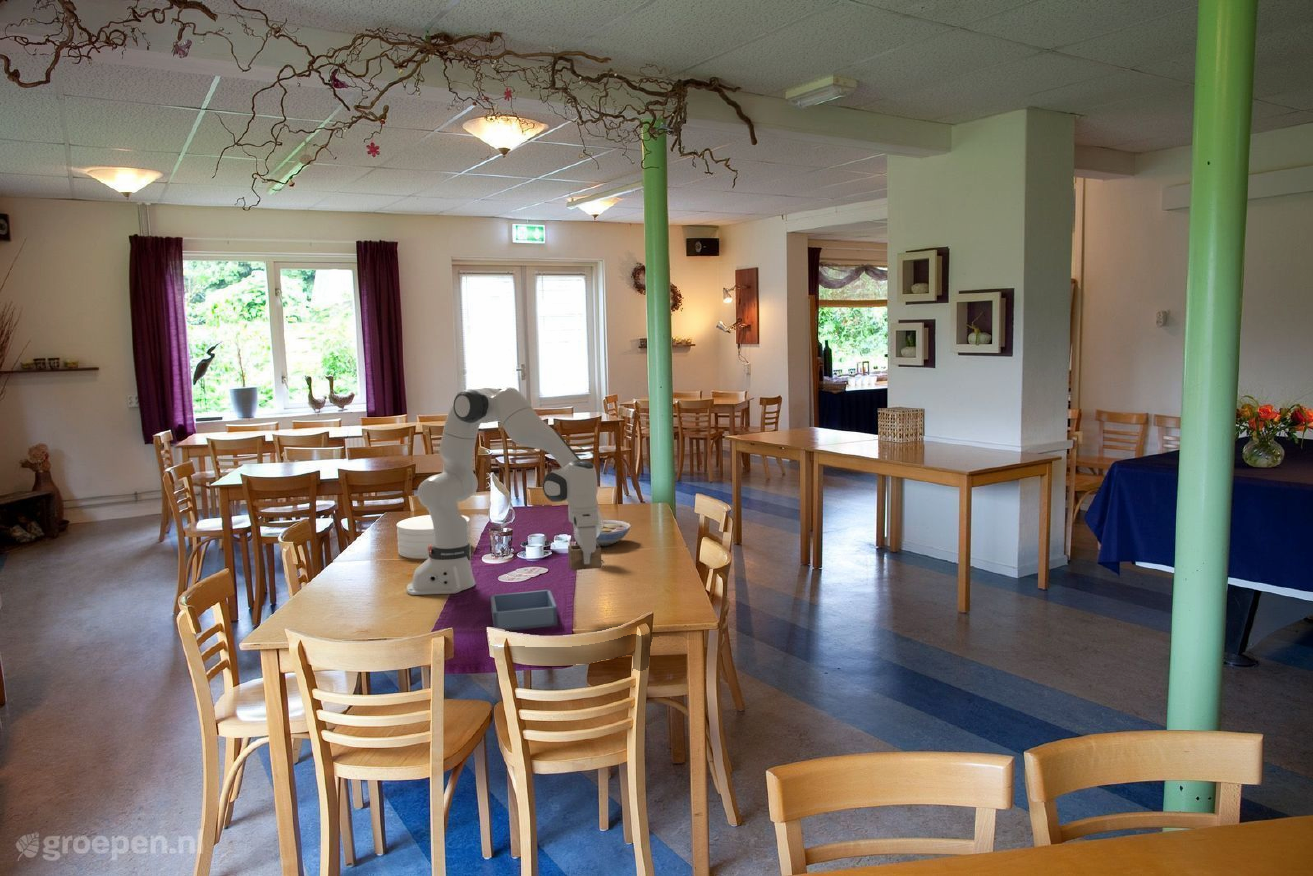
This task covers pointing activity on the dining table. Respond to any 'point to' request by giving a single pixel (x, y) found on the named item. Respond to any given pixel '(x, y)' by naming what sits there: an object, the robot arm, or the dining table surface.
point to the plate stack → (418, 536)
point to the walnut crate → (577, 558)
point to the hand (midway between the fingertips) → (584, 560)
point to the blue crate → (524, 610)
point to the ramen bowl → (612, 532)
